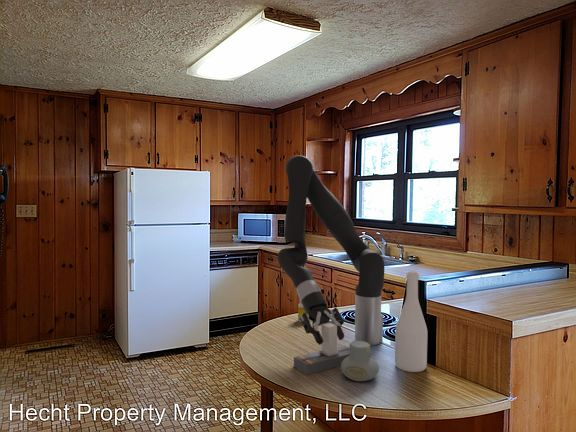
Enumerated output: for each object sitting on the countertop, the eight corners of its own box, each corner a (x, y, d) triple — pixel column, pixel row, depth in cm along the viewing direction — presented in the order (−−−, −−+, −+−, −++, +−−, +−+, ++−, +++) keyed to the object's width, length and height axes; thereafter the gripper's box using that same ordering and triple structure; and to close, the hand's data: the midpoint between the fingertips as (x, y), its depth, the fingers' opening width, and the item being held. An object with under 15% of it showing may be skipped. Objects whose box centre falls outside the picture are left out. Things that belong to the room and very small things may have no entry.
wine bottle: (427, 363, 138) (429, 269, 136) (425, 375, 129) (428, 275, 127) (396, 359, 141) (398, 267, 140) (393, 370, 133) (395, 273, 131)
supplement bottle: (305, 318, 185) (306, 296, 185) (313, 321, 181) (313, 298, 180) (295, 320, 183) (295, 297, 182) (302, 323, 178) (303, 300, 177)
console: (344, 353, 146) (344, 344, 145) (357, 361, 140) (358, 351, 140) (293, 366, 135) (293, 356, 135) (306, 374, 129) (306, 364, 129)
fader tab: (329, 349, 141) (329, 321, 140) (338, 354, 137) (339, 326, 136) (319, 351, 139) (319, 323, 138) (328, 356, 135) (329, 328, 134)
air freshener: (380, 375, 129) (381, 342, 129) (374, 386, 122) (375, 351, 121) (345, 368, 134) (345, 337, 133) (337, 379, 126) (337, 345, 126)
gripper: (297, 293, 139) (318, 339, 130) (333, 288, 147) (355, 331, 138) (288, 305, 144) (308, 351, 135) (323, 300, 152) (344, 342, 142)
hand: (331, 341), depth 136 cm, fingers open, 7 cm apart
